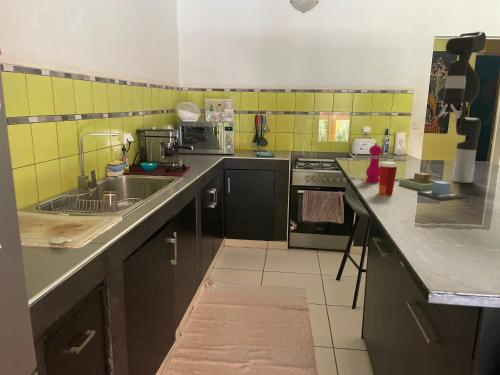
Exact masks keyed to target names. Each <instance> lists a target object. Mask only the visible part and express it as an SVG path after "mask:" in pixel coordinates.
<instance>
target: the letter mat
mask: <svg viewBox="0 0 500 375" xmlns="http://www.w3.org/2000/svg"><path fill="white" fill-rule="evenodd" d="M431 192H432V190H427V191H419V190H417V192H416V193H417V195H421V196H425V197H429V198H431V199H435V200H439V201H449V200H457V199H459V200H460V199H463V198H464V195H461V194H458V193H454V192H450V191H449V194H448V195H438V194H434V193H431Z"/></svg>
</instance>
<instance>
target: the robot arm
mask: <svg viewBox="0 0 500 375" xmlns="http://www.w3.org/2000/svg"><path fill="white" fill-rule="evenodd" d="M486 36H487V35H486V33H485V32H484V31H471V32H470V31H469V32H463V33H461V34H459V36H455V37H450V38H449V39H448V40H447V42H446V44H445V51H446V53H447V55H449V56H458V60H454V61H451V62H449V63H448V66H447V67H448V68H447V72H446V73H447V74H446V79H445V84H444V89H443V101H437V102H436V106H435V112H434V116H436V117H438V122H437V125H438V127H444V123H445V117H446V115H447V114H449V113H453V114H454V115H455V116H456V122H455V123H456V124H455V131H456V135H458V136H463V137H469V138H468V139H467V140H465V141H462V142H458V143H457V144H456V150H455V155H454V156H455V157H454V164H453V171H452V177H451V181H453V182H456V183H463V184H470V183H473V180H474V174H475V167H476V164H475V162H476V154H477V148H478V145H479V144H478V143H479V138H480V133H481V129H482V120H481V119H480V118H479V117H478V118H477V117H469V114H470V113H469V110H470V106H471V105H472V104H473V102H474V101H475V100H476V98H477V97H478V95H479V93H480V82H481V81H480V77H479V75H478V73H477V72H476V71H475V70H474V68H473V67H472V65H471V64H470V59H471V57H472V54H473V53H474V54H475V53H480V52H482V51H483V50H485V47H486V45H487V37H486Z"/></svg>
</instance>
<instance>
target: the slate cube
mask: <svg viewBox="0 0 500 375" xmlns="http://www.w3.org/2000/svg"><path fill="white" fill-rule="evenodd" d="M434 181H435V182H433V185H432V192H431V193H434V194H438V195H448V194H449V192H450V190H451V182H447V181H443V180H434Z"/></svg>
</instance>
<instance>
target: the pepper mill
mask: <svg viewBox="0 0 500 375" xmlns="http://www.w3.org/2000/svg"><path fill="white" fill-rule="evenodd" d="M368 152H369V154H370V155H369V159H370V163H369V165H368V167H367V168H366V170H365V171H366V172H365V174H366V176H367V177H366V180H365V181H366V182H367V181H368V182H367V183H372V182H378V183H379V175H380V165H379V164H380V162H379V161H380V159H381V154H382V153H383V150H382V147H381V146H379V143H378V142H375V143H374V145H372V146H370V148H369V150H368Z"/></svg>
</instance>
